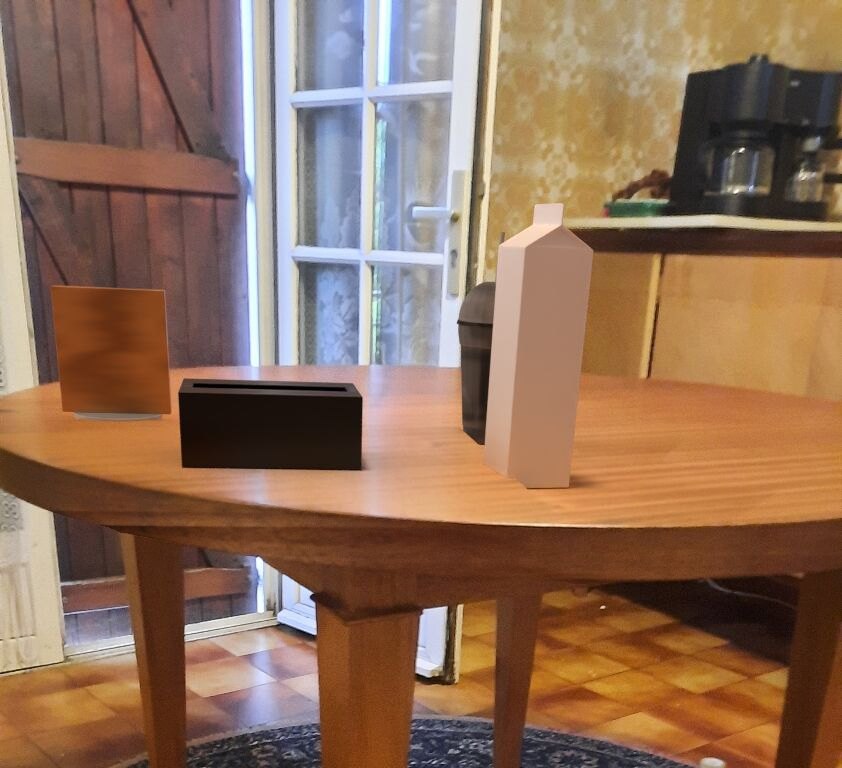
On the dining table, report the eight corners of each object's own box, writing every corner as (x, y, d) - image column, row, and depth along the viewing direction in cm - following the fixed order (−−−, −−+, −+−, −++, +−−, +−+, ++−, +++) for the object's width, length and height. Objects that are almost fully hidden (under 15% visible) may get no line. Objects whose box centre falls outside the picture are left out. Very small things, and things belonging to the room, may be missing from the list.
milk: (505, 489, 92) (527, 201, 82) (481, 475, 97) (499, 202, 87) (570, 488, 93) (599, 205, 84) (543, 473, 98) (567, 205, 89)
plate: (78, 431, 107) (77, 419, 107) (71, 417, 115) (70, 406, 114) (169, 430, 110) (168, 418, 110) (156, 416, 118) (155, 405, 117)
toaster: (182, 479, 89) (177, 391, 86) (187, 458, 97) (183, 378, 94) (361, 481, 92) (362, 396, 88) (351, 461, 100) (352, 383, 96)
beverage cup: (440, 442, 111) (451, 229, 103) (463, 432, 118) (476, 230, 109) (506, 449, 109) (523, 232, 100) (527, 439, 115) (544, 234, 107)
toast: (62, 411, 111) (50, 285, 105) (64, 409, 112) (52, 285, 107) (171, 414, 112) (164, 290, 107) (171, 412, 114) (165, 289, 109)
